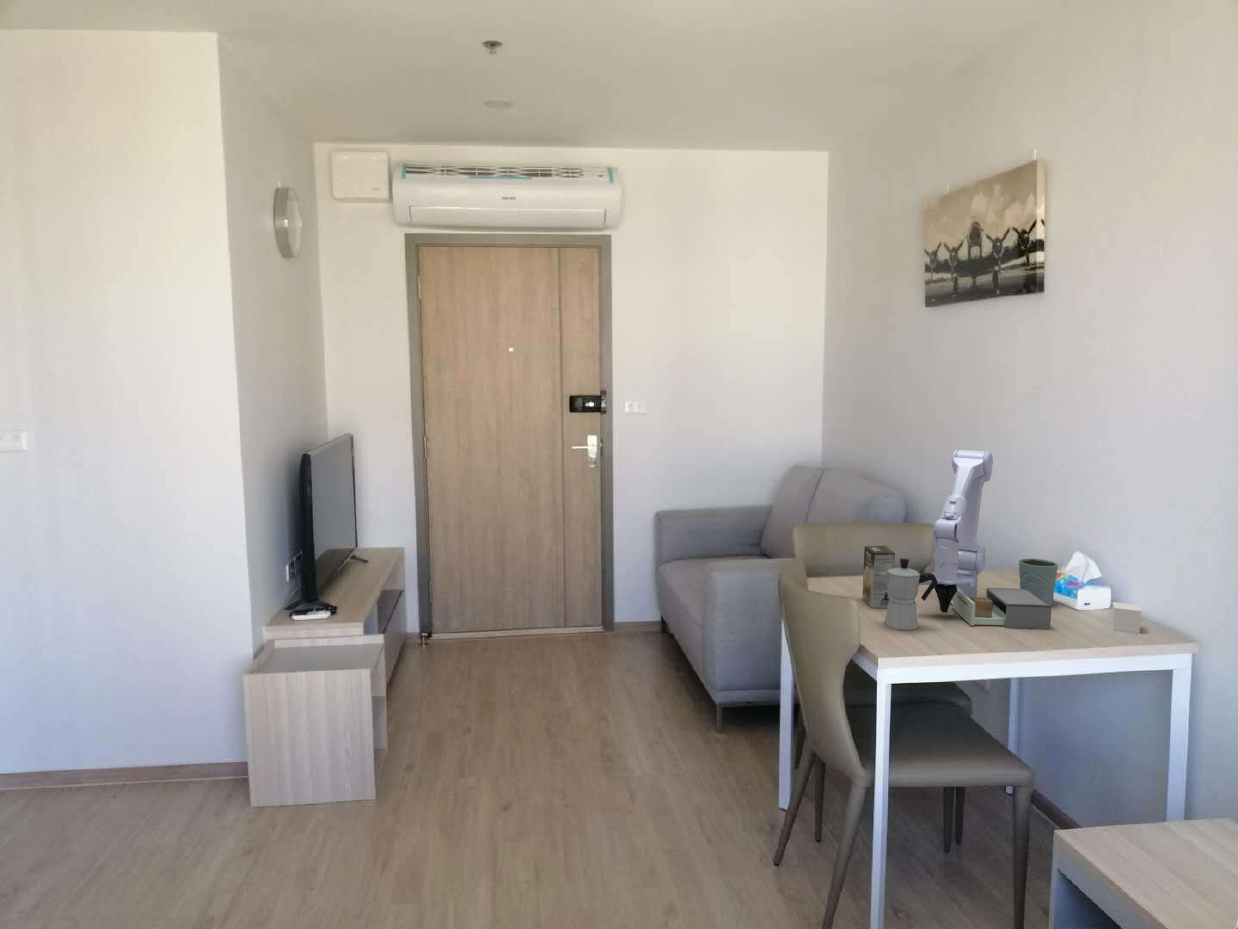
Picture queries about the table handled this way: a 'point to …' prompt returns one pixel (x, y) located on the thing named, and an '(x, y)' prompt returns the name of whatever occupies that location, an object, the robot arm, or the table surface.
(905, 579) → the coffee maker
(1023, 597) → the grey drawer box
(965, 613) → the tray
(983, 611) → the walnut block
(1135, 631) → the beige cube
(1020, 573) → the green plant pot
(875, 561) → the coffee box
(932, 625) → the table surface
